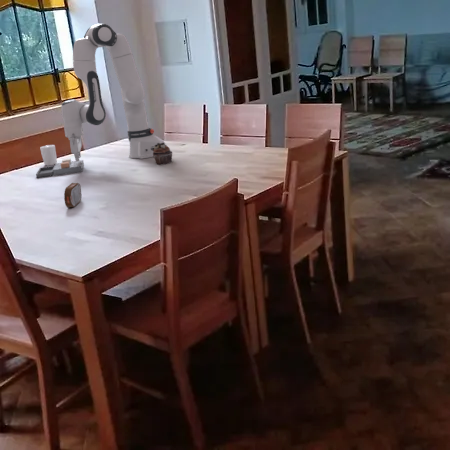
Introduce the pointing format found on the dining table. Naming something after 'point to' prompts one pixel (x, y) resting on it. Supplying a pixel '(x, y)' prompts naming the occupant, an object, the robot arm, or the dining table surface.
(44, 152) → the white cup
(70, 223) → the dining table surface
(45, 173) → the box
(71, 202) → the tin
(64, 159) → the tile cream
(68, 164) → the tile terracotta
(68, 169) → the far plate
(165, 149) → the cupcake
